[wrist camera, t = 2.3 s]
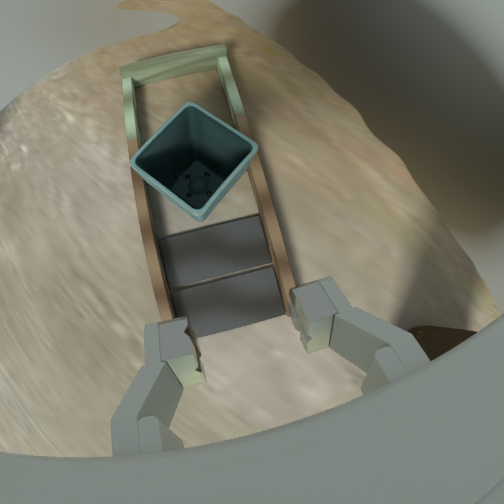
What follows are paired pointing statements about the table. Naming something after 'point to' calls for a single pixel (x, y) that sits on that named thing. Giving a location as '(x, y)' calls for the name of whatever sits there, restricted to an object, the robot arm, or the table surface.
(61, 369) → the table surface
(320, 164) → the table surface
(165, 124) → the flower pot
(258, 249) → the channel
